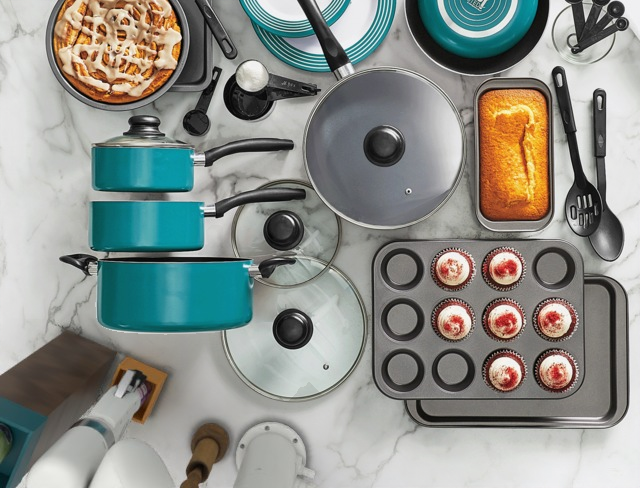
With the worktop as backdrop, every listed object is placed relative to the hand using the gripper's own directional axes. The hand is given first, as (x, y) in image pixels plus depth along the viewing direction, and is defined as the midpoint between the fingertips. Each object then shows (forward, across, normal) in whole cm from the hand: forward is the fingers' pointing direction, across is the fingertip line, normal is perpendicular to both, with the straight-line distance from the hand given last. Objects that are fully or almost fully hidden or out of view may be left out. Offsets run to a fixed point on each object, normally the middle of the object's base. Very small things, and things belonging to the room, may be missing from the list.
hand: (127, 399), depth 116 cm
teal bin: (-22, -1, +11) cm, 24 cm away
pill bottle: (+6, 0, 0) cm, 6 cm away
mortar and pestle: (+7, -4, -16) cm, 18 cm away
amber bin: (+7, 0, 0) cm, 7 cm away
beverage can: (-22, -1, +11) cm, 24 cm away
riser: (+6, -1, +11) cm, 13 cm away
